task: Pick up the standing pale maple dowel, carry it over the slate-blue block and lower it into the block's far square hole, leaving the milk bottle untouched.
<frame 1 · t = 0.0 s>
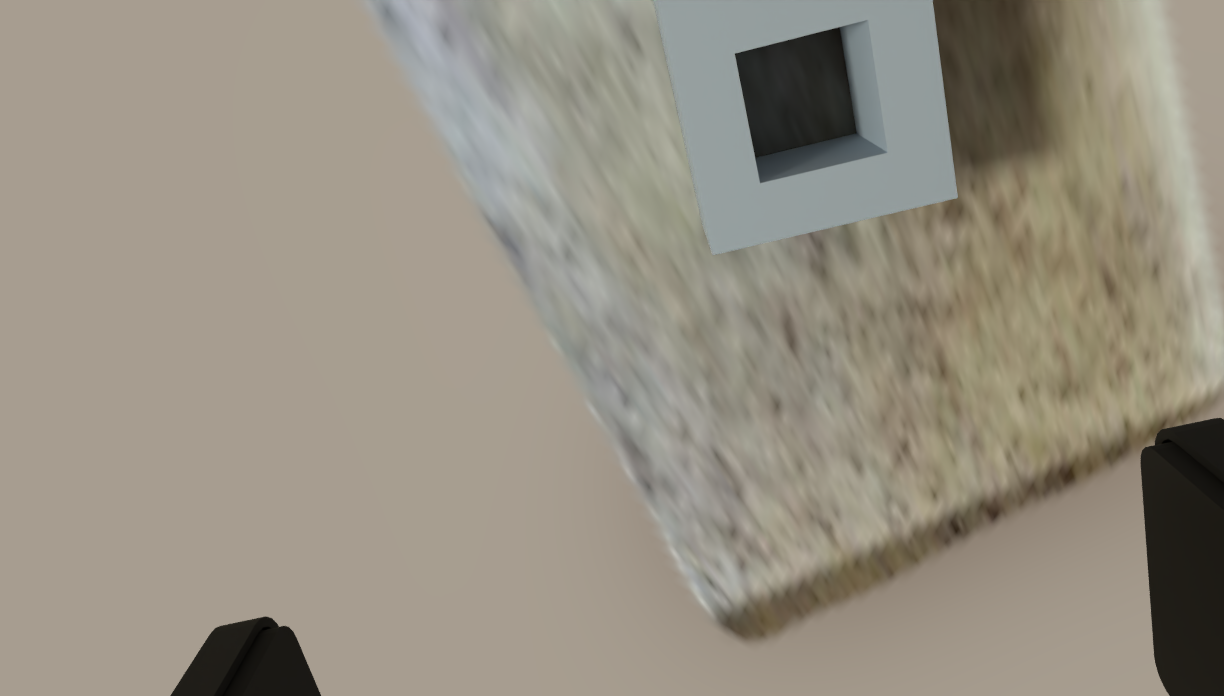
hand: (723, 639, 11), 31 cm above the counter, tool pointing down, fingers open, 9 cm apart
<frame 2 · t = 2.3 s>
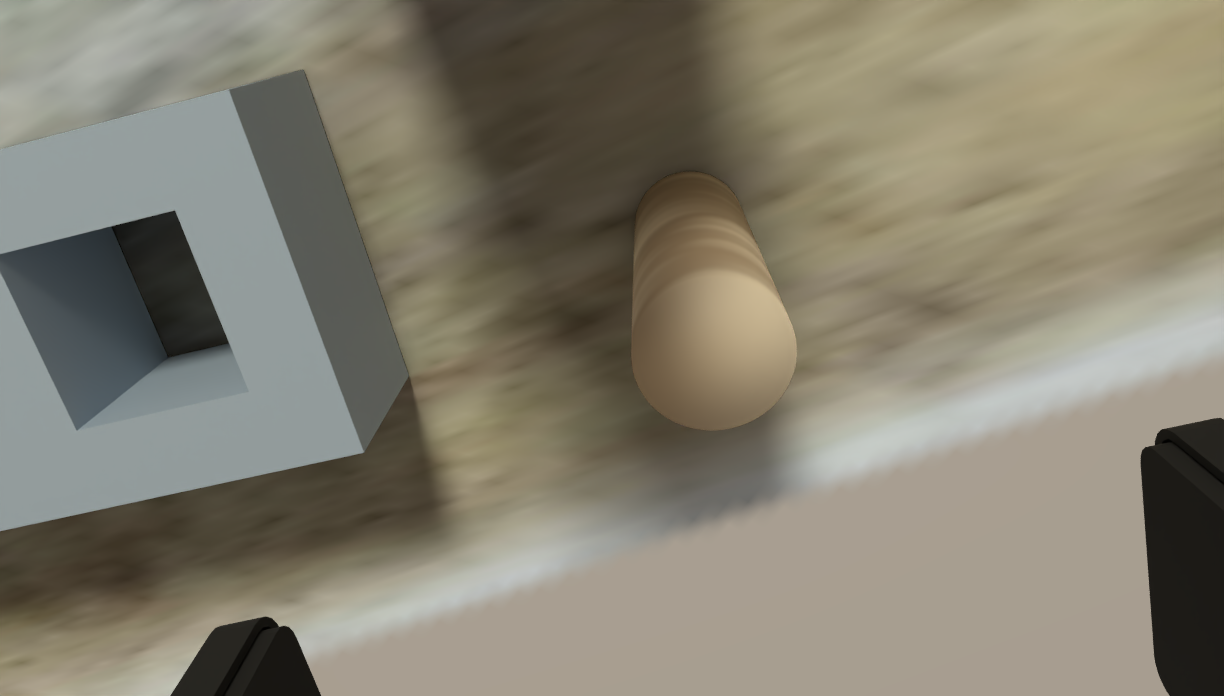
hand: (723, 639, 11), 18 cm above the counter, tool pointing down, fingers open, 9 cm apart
hole block: (67, 301, 28), on the counter
peg: (689, 225, 27), on the counter
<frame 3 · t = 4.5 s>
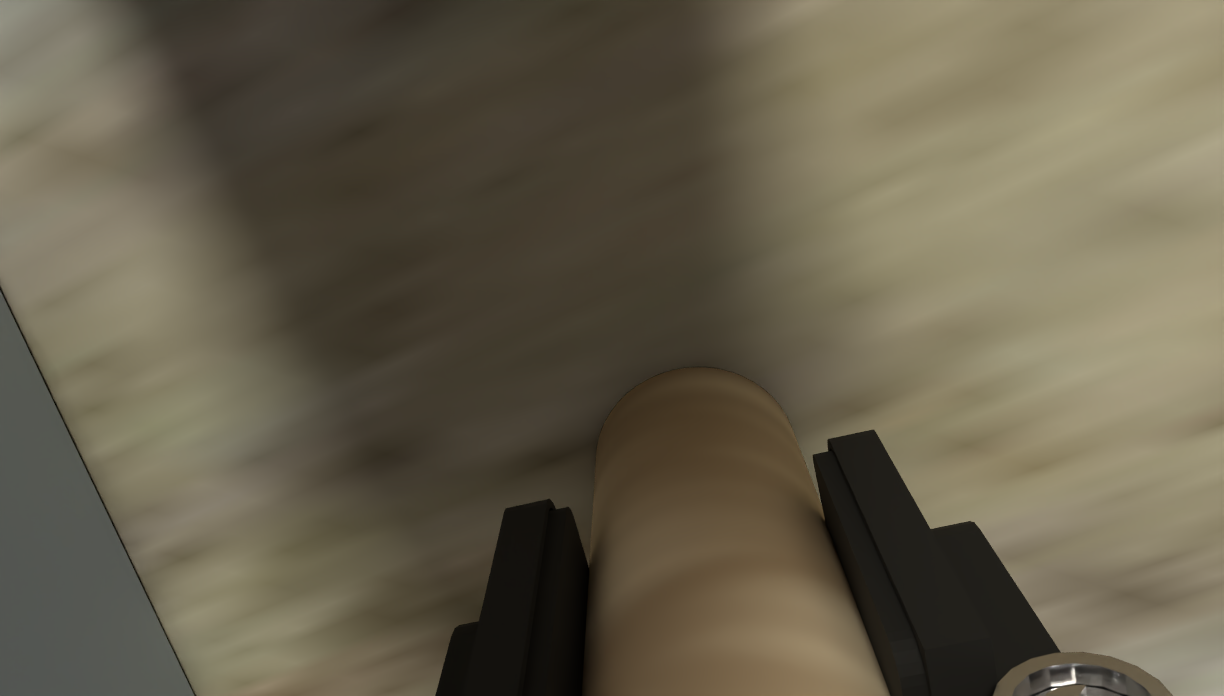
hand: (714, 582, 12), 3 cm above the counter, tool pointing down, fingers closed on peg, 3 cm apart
peg: (696, 460, 15), on the counter, touching gripper
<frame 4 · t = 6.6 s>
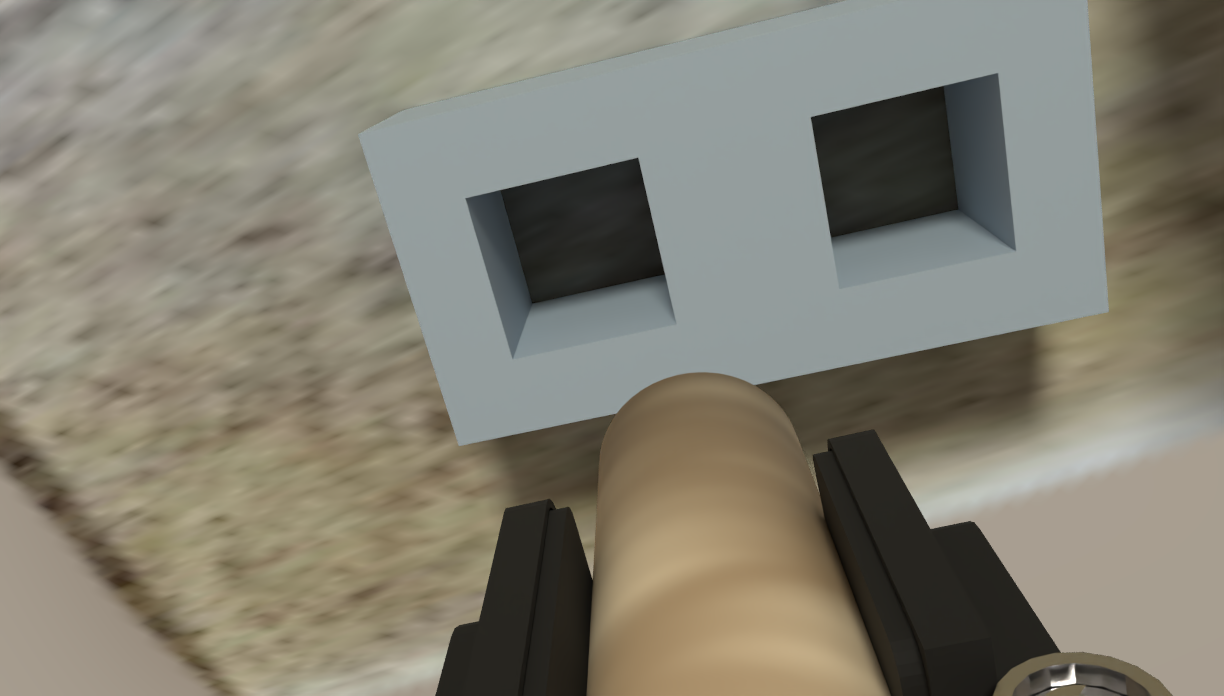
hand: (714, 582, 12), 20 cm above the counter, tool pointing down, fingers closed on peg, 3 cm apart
hole block: (725, 186, 30), on the counter
peg: (699, 465, 15), point 17 cm above the counter, touching gripper
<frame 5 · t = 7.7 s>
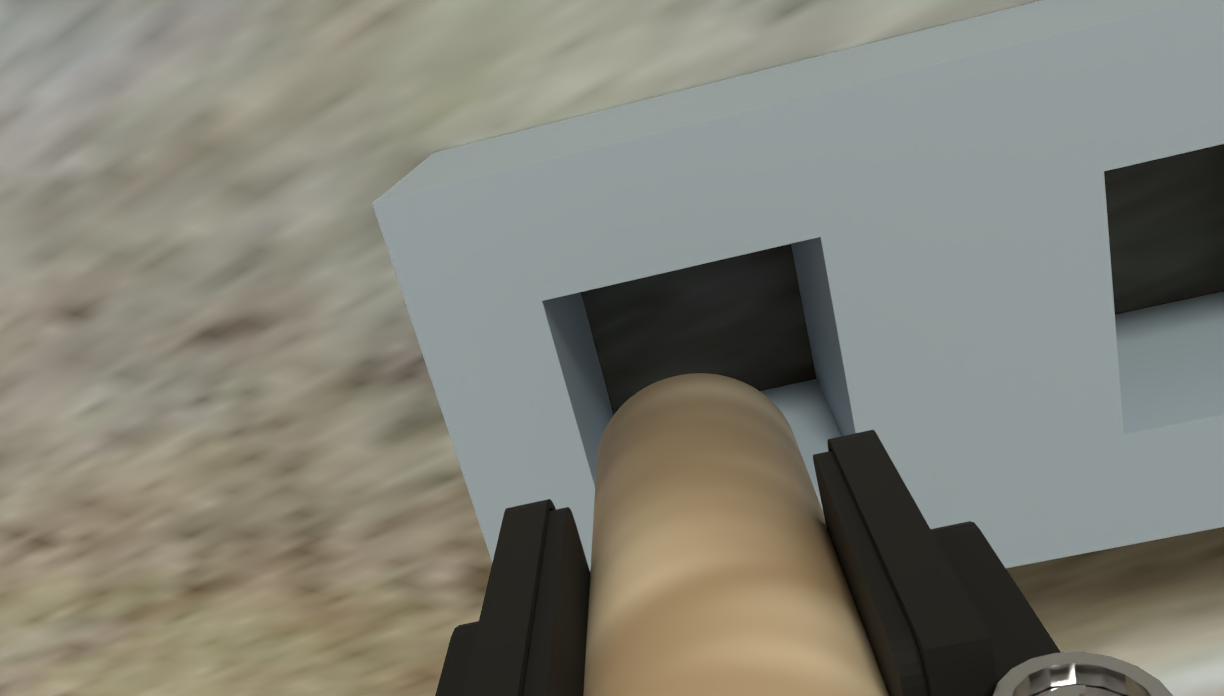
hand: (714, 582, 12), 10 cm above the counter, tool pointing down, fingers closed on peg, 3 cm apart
hole block: (900, 259, 21), on the counter
peg: (697, 466, 15), point 7 cm above the counter, touching gripper
when the fingers open (6 cm above the counter, at t = 8.8 s): peg drops 3 cm, resting in hole block.
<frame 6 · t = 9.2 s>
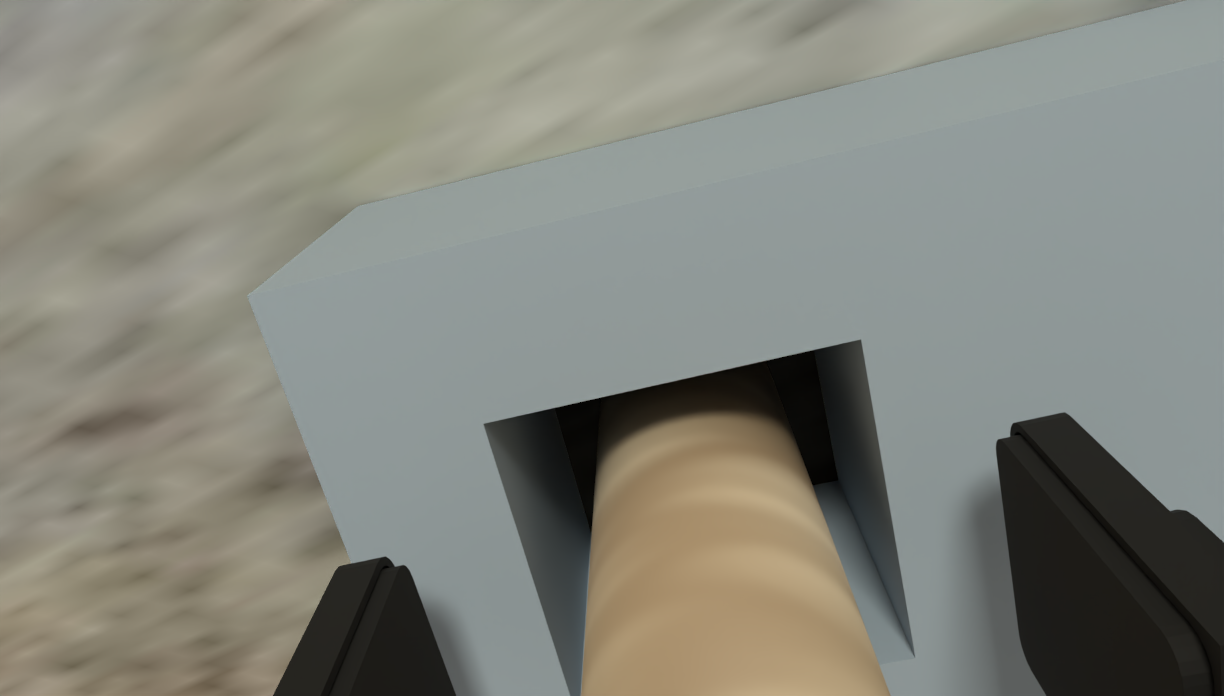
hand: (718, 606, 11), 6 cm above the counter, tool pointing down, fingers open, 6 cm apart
hole block: (944, 335, 17), on the counter
peg: (686, 395, 17), resting in hole block
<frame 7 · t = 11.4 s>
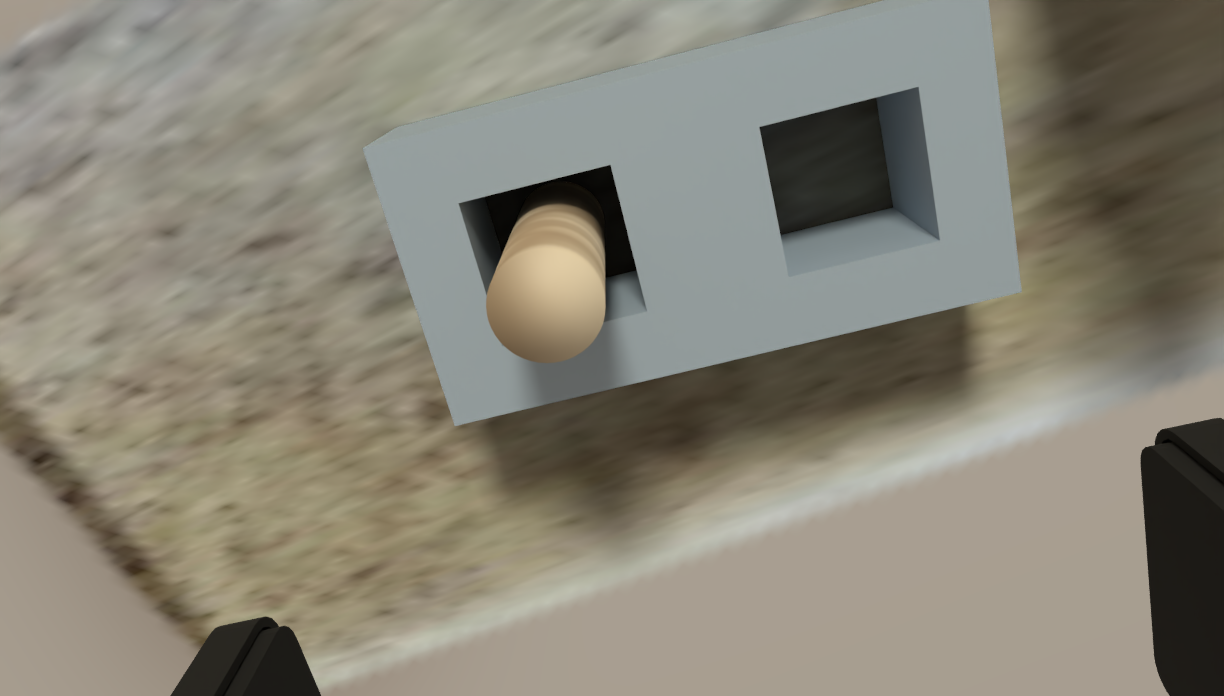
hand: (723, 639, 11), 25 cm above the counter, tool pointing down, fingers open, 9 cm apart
hole block: (687, 191, 34), on the counter
peg: (561, 224, 34), resting in hole block
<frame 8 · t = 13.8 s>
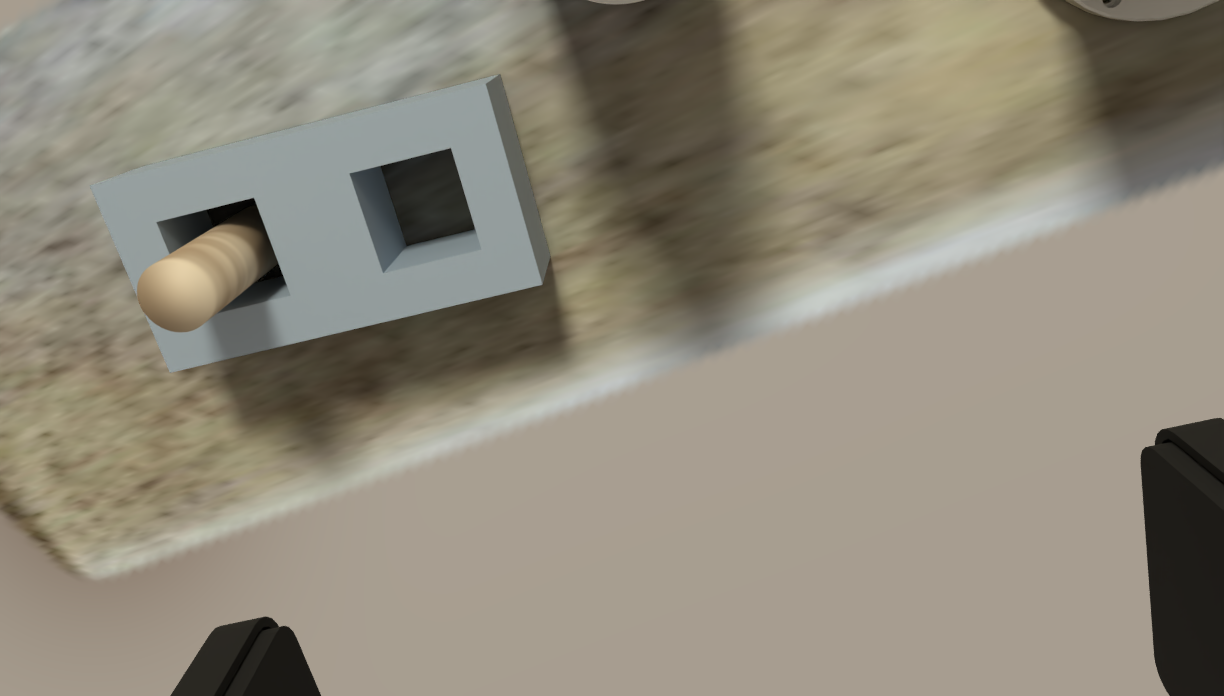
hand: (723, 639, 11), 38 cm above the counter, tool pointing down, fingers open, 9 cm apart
hole block: (349, 211, 48), on the counter
peg: (263, 234, 48), resting in hole block
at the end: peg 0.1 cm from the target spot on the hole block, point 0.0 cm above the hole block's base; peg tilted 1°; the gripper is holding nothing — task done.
